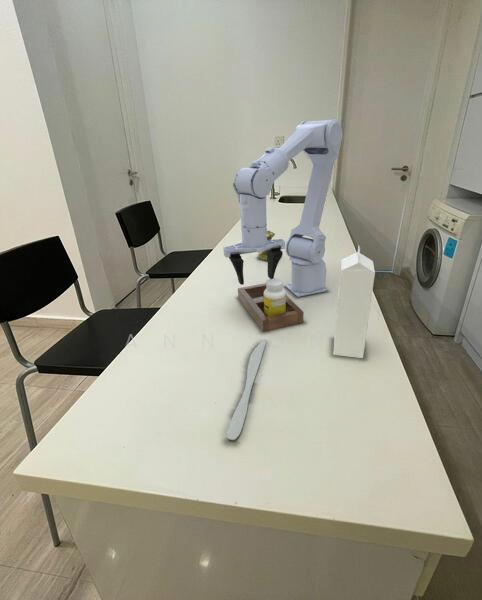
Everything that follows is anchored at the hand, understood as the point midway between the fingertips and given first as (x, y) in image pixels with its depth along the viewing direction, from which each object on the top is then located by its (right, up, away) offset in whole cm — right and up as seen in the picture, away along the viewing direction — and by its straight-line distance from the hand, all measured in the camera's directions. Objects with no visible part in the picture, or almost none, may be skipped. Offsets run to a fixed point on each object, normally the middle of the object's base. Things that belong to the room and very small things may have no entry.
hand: (256, 280), depth 80 cm
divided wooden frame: (+3, -7, +7) cm, 10 cm away
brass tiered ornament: (+5, +11, +42) cm, 44 cm away
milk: (+20, -15, -10) cm, 27 cm away
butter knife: (-1, -20, -19) cm, 27 cm away
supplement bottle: (+5, -9, +3) cm, 11 cm away
